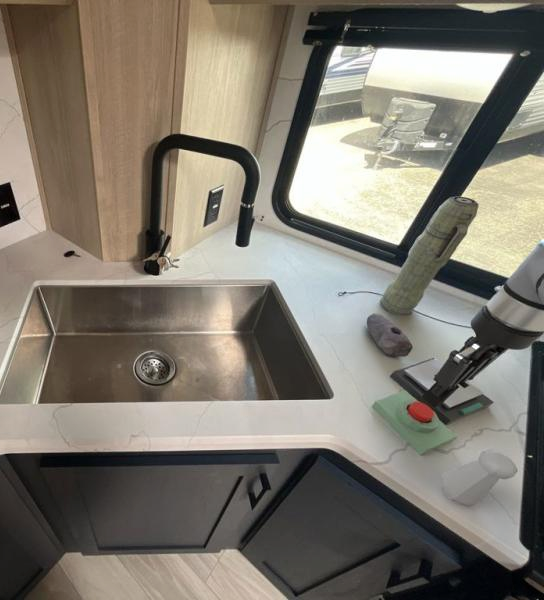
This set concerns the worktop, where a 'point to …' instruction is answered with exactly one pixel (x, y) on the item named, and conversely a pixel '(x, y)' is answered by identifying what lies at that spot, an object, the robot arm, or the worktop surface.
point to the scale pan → (425, 376)
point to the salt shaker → (477, 477)
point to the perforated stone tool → (388, 336)
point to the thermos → (429, 254)
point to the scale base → (441, 411)
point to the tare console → (413, 423)
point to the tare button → (420, 412)
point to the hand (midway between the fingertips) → (430, 401)
